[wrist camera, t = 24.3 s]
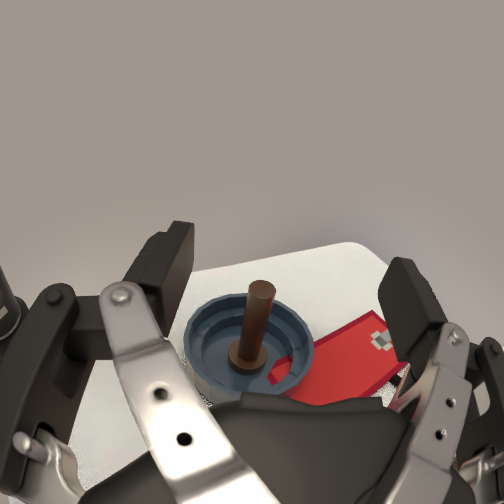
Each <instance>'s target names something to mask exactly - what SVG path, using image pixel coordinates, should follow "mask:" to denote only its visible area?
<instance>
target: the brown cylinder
mask: <svg viewBox="0 0 504 504" xmlns="http://www.w3.org/2000/svg"><path fill="white" fill-rule="evenodd" d="M275 294H276V289H275V287H274V285H273V284H271V283H270V282H268V281H264V280H256V281H254V282H252V283H251V284H250V285H249V289H248V295H247V301H246V307H245V312H244V318H243V324H242V330H241V335H240V339H238V340H236V341H235V342H233V343H232V344H231V346H230V348H229V352H228V363H229V365H230V367H231V368H232V369H233V370H234V371H235V372H237V373H239V374H242V375H254V374H257V373H259V372H260V371H261V370H262V369H263V368H264V366H265V363H266V360H267V350H266V348H265V347H264V345H263V344H262V341H263V338H264V334H265V331H266V327H267V323H268V320H269V316H270V312H271V309H272V305H273V301H274V298H275Z"/></svg>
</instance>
